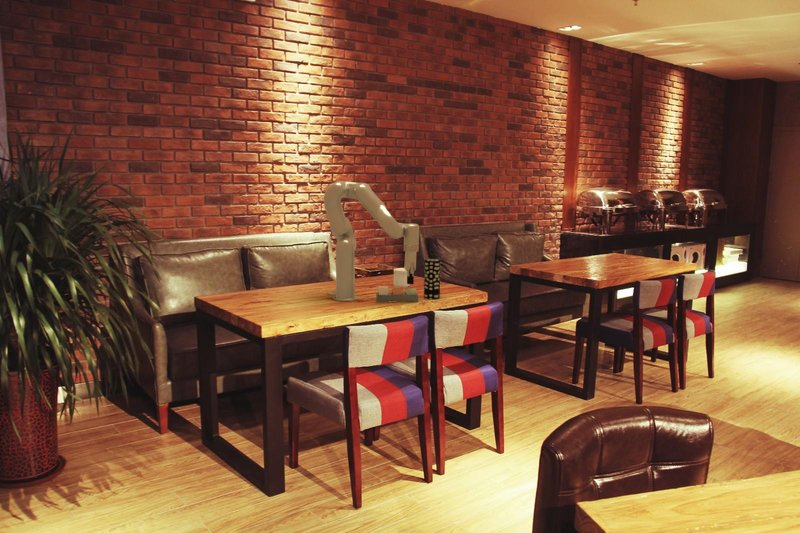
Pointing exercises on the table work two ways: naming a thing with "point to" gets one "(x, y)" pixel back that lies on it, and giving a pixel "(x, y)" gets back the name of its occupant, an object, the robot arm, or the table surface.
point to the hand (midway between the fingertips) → (410, 283)
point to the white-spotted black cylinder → (432, 278)
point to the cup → (400, 277)
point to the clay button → (396, 290)
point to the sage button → (410, 291)
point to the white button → (382, 290)
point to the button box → (396, 297)
